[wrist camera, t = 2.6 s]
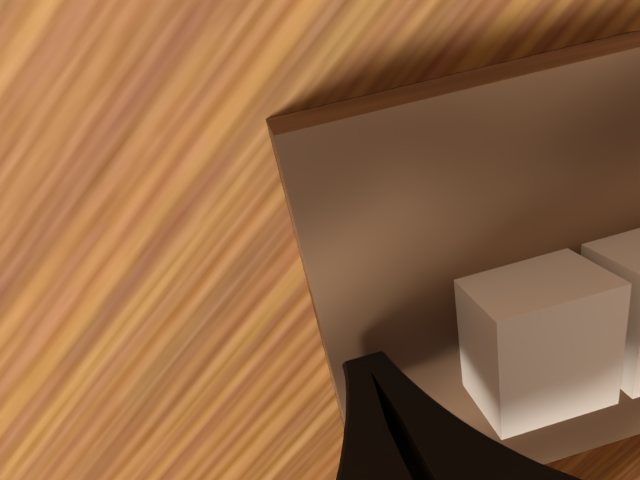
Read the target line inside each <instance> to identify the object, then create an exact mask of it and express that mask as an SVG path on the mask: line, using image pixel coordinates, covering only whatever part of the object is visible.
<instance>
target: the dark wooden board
mask: <svg viewBox="0 0 640 480" xmlns="http://www.w3.org/2000/svg"><path fill="white" fill-rule="evenodd" d="M266 122H267V126H268V130H269V134H270V138H271V142H272V146H273V150H274V154H275V158H276V162H277V166H278V170H279V174H280V177H281V181H282V185H283V189H284V193H285V197H286V201H287V205H288V209H289V213H290V217H291V221H292V225H293V229H294V233H295V237H296V240H297V244H298V248H299V252H300V256H301V260H302V264H303V268H304V272H305V276H306V280H307V284H308V288H309V292H310V296H311V300H312V303H313V307H314V311H315V315H316V319H317V323H318V327H319V331H320V335H321V339H322V343H323V347H324V351H325V355H326V359H327V362H328V366H329V370H330V374H331V378H332V382H333V386H334V390H335V394H336V398H337V402H338V406H339V410H340V414H341V418H342V422H343V425H344V428H345V417H346V383H345V376H344V372H343V367H342V365H343V363H344V362H345V361H348V360H352V359H355V358H358V357H362V356H365V355H369V354H372V353H376V352H379V351H382V352H384V353H385V354H386V355H387V356H388V357H389V358H390V359H391V361H392V362H393V363H394V364H395V365H396V366H397V367H398V368H399V369H400V370H401V371H402V372H403V373H404V374H405V375H406V376H407V377H408V378H409V379H411V380H412V381H413V382H414V383H415V384H416V385H417V386H418V387H420V388H421V389H422V390H423V391H424V392H425V393H426V394H428V395H429V396H430V397H431V398H433V399H434V400H435V401H436V402H438V403H439V404H440V405H442V406H443V407H444V408H445V409H447V410H448V411H450V412H451V413H452V414H454V415H455V416H457V417H458V418H459V419H461V420H462V421H464V422H465V423H467V424H468V425H470V426H472V427H473V428H475V429H476V430H478V431H480V432H481V433H483V434H485V435H486V436H488V437H490V438H491V439H493V440H495V441H497V442H499V443H501V444H503V445H504V446H506V447H508V448H510V449H512V450H514V451H516V452H518V453H519V454H521V455H524V456H526V457H528V458H530V459H532V460H534V461H536V462H538V463H541V464H543V465H544V464H547V463H551V462H554V461H557V460H560V459H563V458H566V457H569V456H572V455H576V454H579V453H582V452H585V451H588V450H591V449H594V448H597V447H601V446H604V445H607V444H610V443H613V442H616V441H619V440H622V439H626V438H629V437H632V436H635V435H638V434H640V397H638V398H635V399H632V398H631V397H629V396H628V395H627V394H626V393H625V392H624V391H622V390H621V389H620V394H619V402H618V404H616V405H612V406H609V407H606V408H603V409H600V410H596V411H593V412H590V413H587V414H584V415H580V416H577V417H574V418H571V419H568V420H564V421H561V422H558V423H555V424H552V425H548V426H545V427H542V428H539V429H536V430H532V431H529V432H526V433H523V434H520V435H516V436H513V437H510V438H507V439H504V440H501V439H500V437H499V436H498V434H497V433H496V432H495V430H494V429H493V427H492V426H491V424H490V423H489V422H488V420H487V419H486V417H485V416H484V414H483V413H482V412H481V410H480V409H479V407H478V406H477V404H476V403H475V402H474V400H473V399H472V397H471V396H470V394H469V393H468V392H467V390H466V389H465V387H464V386H463V381H462V370H461V358H460V347H459V336H458V325H457V313H456V302H455V291H454V280H455V279H459V278H462V277H466V276H469V275H473V274H476V273H480V272H484V271H487V270H491V269H494V268H498V267H502V266H505V265H509V264H512V263H516V262H520V261H523V260H527V259H530V258H534V257H537V256H541V255H545V254H548V253H552V252H555V251H559V250H563V249H566V248H568V249H570V250H572V251H574V252H575V253H577V254H579V255H581V244H584V243H588V242H591V241H595V240H598V239H602V238H606V237H609V236H613V235H616V234H620V233H624V232H627V231H631V230H634V229H638V228H640V31H634V32H629V33H624V34H620V35H616V36H612V37H608V38H603V39H599V40H595V41H591V42H587V43H583V44H578V45H574V46H570V47H566V48H562V49H557V50H553V51H549V52H545V53H541V54H536V55H532V56H528V57H524V58H520V59H516V60H511V61H507V62H503V63H499V64H495V65H490V66H486V67H482V68H478V69H474V70H469V71H465V72H461V73H457V74H453V75H449V76H444V77H440V78H436V79H432V80H428V81H423V82H419V83H415V84H411V85H407V86H403V87H398V88H394V89H390V90H386V91H382V92H377V93H373V94H369V95H365V96H361V97H356V98H352V99H348V100H344V101H340V102H336V103H331V104H327V105H323V106H319V107H315V108H310V109H306V110H302V111H298V112H294V113H290V114H285V115H281V116H277V117H273V118H269V119H266Z"/></svg>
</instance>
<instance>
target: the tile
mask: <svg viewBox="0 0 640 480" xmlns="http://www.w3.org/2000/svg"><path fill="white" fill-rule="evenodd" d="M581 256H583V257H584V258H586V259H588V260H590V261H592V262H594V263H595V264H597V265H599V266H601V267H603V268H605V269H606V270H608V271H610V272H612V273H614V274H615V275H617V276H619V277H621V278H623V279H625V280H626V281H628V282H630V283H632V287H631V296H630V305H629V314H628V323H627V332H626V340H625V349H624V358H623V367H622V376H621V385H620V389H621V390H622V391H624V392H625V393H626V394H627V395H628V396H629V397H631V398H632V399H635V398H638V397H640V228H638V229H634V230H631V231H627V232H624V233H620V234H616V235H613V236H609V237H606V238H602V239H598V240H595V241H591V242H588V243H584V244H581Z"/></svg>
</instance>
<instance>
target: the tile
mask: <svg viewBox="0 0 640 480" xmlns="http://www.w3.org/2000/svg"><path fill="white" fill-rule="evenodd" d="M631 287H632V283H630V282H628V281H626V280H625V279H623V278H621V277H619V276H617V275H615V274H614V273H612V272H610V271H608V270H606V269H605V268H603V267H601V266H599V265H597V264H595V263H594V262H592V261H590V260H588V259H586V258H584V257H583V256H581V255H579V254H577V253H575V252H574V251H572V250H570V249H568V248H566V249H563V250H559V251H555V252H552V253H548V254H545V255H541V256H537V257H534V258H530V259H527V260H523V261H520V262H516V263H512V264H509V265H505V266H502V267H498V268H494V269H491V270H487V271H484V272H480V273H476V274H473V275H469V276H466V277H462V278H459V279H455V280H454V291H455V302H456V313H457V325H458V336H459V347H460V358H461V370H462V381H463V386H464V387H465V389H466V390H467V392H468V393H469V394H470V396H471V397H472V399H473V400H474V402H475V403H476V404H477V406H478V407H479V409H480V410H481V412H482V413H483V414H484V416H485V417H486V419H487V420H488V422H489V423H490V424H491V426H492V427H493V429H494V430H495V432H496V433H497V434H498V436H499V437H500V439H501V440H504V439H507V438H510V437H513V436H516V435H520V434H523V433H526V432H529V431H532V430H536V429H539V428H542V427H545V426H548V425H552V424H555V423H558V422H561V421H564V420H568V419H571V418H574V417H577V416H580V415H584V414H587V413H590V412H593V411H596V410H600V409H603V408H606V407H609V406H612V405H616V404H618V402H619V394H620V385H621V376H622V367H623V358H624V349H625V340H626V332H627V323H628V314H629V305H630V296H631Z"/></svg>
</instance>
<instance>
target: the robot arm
mask: <svg viewBox="0 0 640 480" xmlns="http://www.w3.org/2000/svg"><path fill="white" fill-rule="evenodd" d="M342 367H343V372H344V376H345V383H346V417H345V428H344V438H343V445H342V452H341V458H340V463H339V469H338V473H337V478H336V480H581V479H578V478H576V477H573V476H571V475H568V474H566V473H563V472H561V471H558V470H556V469H553V468H550V467H548V466H545V465H543V464H541V463H538V462H536V461H534V460H532V459H530V458H528V457H526V456H524V455H521V454H519V453H518V452H516V451H514V450H512V449H510V448H508V447H506V446H504V445H503V444H501V443H499V442H497V441H495V440H493V439H491V438H490V437H488V436H486V435H485V434H483V433H481V432H480V431H478V430H476V429H475V428H473V427H472V426H470V425H468V424H467V423H465V422H464V421H462V420H461V419H459V418H458V417H457V416H455V415H454V414H452V413H451V412H450V411H448V410H447V409H445V408H444V407H443V406H442V405H440V404H439V403H438V402H436V401H435V400H434V399H433V398H431V397H430V396H429V395H428V394H426V393H425V392H424V391H423V390H422V389H421V388H420V387H418V386H417V385H416V384H415V383H414V382H413V381H412V380H411V379H409V378H408V377H407V376H406V375H405V374H404V373H403V372H402V371H401V370H400V369H399V368H398V367H397V366H396V365H395V364H394V363H393V362H392V361H391V359H390V358H389V357H388V356H387V355H386V354H385V353H384V352H382V351H379V352H376V353H372V354H369V355H365V356H362V357H358V358H355V359H352V360H348V361H345V362H344V363H343V365H342Z"/></svg>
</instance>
